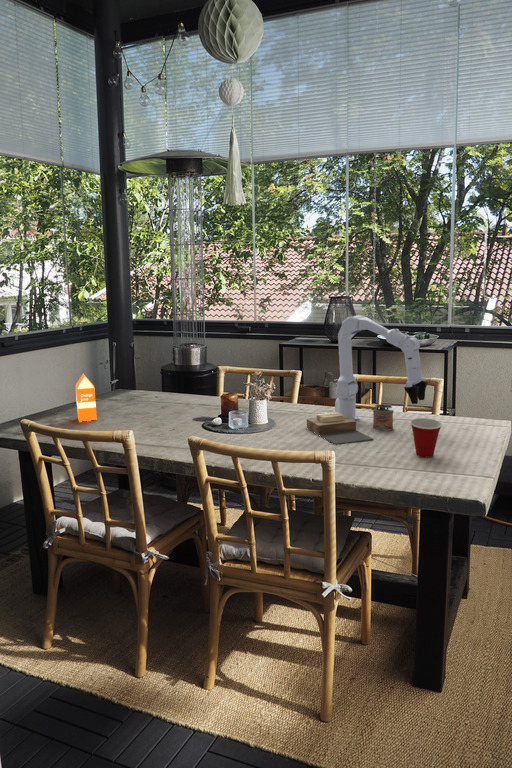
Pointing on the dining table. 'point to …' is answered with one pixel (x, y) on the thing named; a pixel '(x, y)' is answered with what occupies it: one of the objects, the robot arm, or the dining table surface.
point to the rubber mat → (346, 437)
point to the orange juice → (85, 400)
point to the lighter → (383, 417)
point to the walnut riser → (331, 425)
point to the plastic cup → (425, 435)
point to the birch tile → (330, 417)
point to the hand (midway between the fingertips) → (418, 401)
